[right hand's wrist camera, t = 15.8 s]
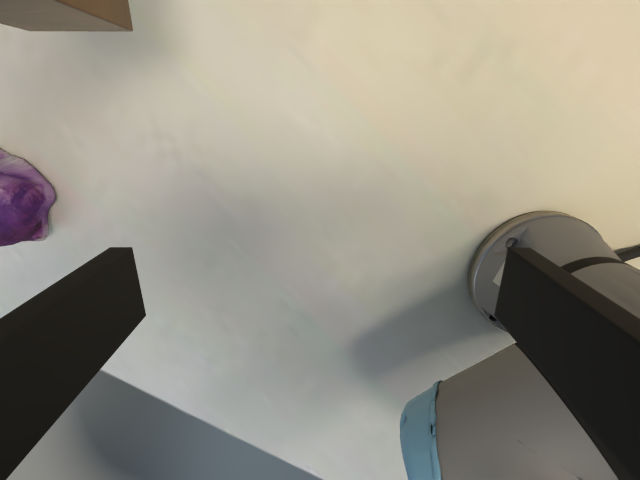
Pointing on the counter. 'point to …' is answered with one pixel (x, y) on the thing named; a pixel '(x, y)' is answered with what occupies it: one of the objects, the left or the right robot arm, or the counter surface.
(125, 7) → the walnut plank
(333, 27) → the counter surface
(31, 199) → the figurine
